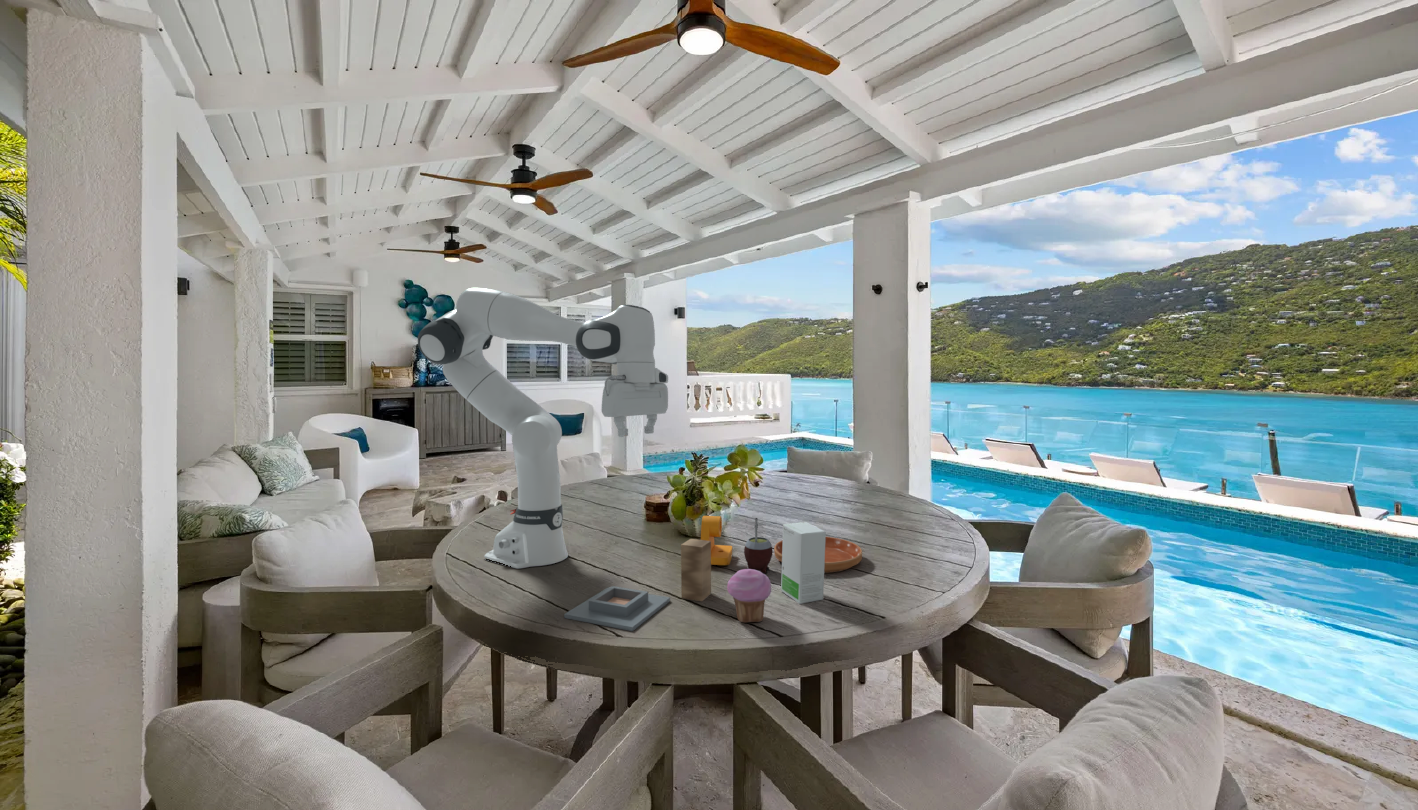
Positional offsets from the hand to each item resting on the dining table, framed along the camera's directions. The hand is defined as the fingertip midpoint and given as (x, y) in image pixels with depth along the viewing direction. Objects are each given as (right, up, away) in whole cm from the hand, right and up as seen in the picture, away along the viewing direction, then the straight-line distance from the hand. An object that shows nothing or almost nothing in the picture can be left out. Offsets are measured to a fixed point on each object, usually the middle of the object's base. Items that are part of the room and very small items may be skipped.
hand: (636, 434), depth 133 cm
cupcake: (+25, -36, -18) cm, 48 cm away
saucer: (+46, -35, +19) cm, 60 cm away
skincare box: (+38, -36, -6) cm, 52 cm away
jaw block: (+14, -36, -5) cm, 39 cm away
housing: (-2, -36, -12) cm, 38 cm away
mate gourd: (+29, -35, +10) cm, 47 cm away
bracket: (+19, -35, +19) cm, 44 cm away
